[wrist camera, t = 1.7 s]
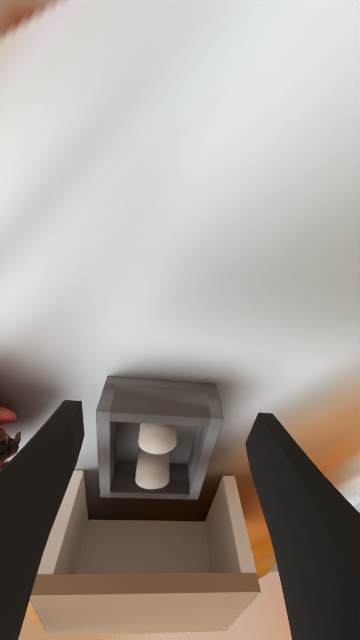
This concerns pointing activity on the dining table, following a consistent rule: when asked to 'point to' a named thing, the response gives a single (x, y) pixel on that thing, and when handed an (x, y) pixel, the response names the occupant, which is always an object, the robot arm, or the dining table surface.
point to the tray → (157, 411)
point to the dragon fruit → (7, 436)
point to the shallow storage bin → (144, 570)
